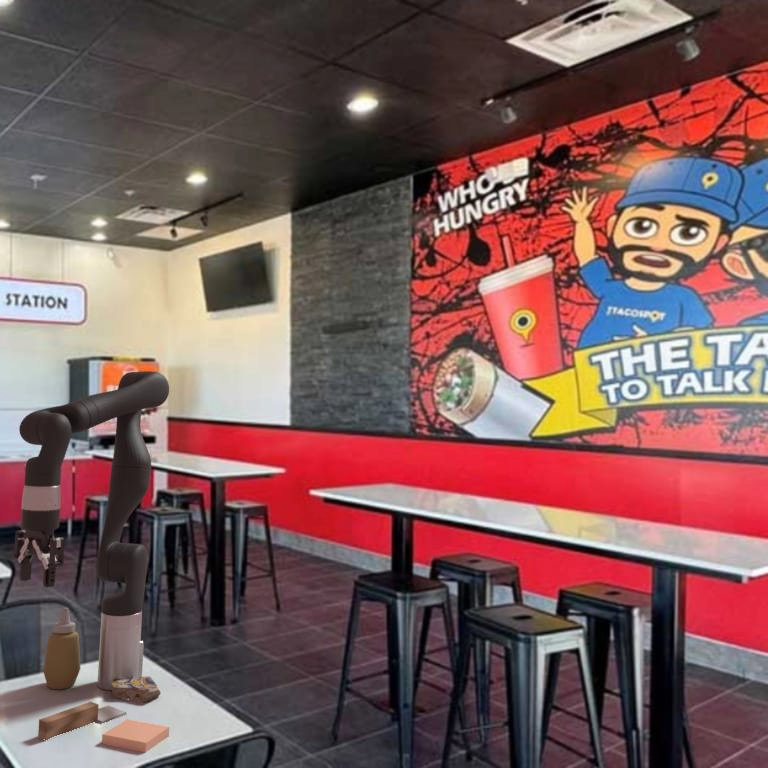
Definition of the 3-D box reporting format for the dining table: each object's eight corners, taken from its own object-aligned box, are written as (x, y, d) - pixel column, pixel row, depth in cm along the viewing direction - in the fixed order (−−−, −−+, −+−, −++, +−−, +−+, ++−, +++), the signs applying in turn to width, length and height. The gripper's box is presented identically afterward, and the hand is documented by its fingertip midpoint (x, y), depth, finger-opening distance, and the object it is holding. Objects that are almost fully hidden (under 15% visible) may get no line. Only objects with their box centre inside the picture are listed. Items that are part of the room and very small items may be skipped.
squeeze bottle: (43, 681, 183) (47, 604, 184) (79, 678, 186) (84, 603, 187) (41, 693, 176) (45, 613, 176) (79, 690, 179) (83, 612, 179)
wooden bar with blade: (51, 743, 151) (52, 725, 151) (32, 735, 154) (33, 717, 154) (126, 714, 166) (127, 698, 166) (108, 708, 170) (108, 691, 170)
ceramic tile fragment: (102, 687, 173) (118, 672, 183) (101, 702, 173) (117, 685, 183) (156, 691, 173) (168, 675, 183) (155, 705, 173) (167, 689, 183)
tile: (102, 734, 152) (146, 742, 149) (127, 719, 160) (169, 727, 157) (101, 745, 152) (145, 754, 149) (126, 730, 160) (168, 738, 157)
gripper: (77, 508, 163) (72, 586, 162) (37, 501, 171) (33, 575, 170) (44, 511, 157) (40, 592, 156) (5, 504, 164) (0, 580, 164)
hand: (36, 583), depth 163 cm, fingers open, 8 cm apart
